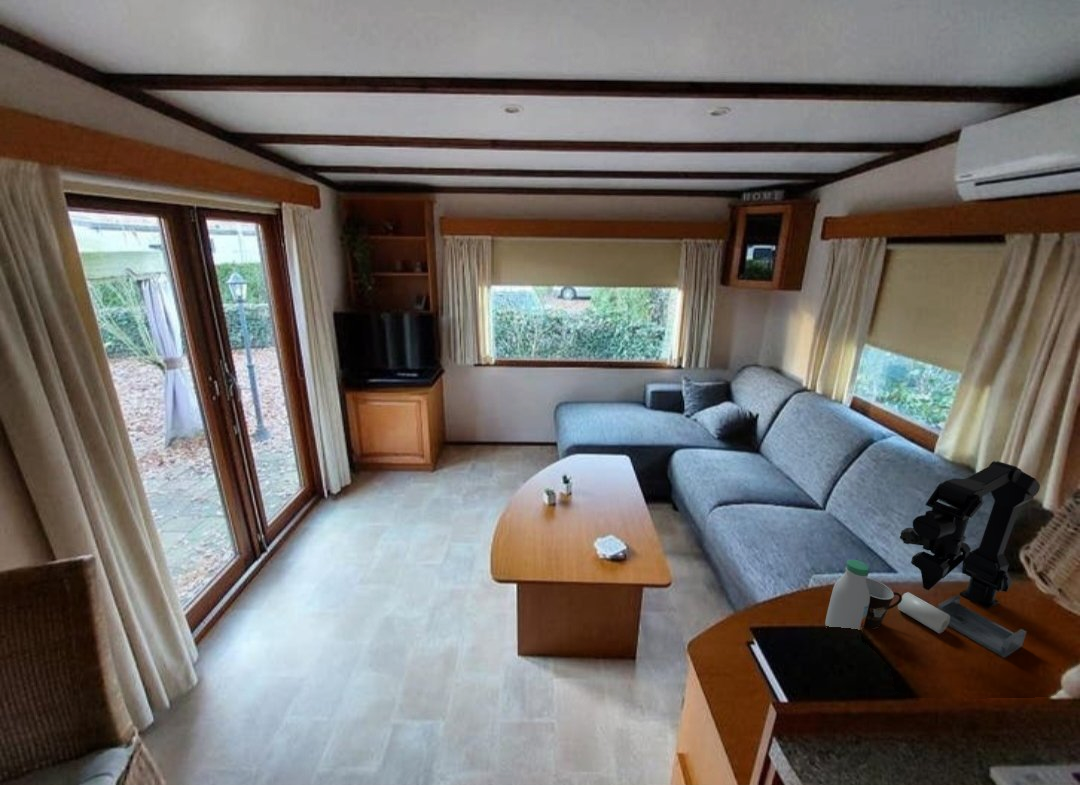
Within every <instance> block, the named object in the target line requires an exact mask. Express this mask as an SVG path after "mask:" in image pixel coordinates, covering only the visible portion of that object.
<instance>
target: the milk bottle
mask: <svg viewBox="0 0 1080 785" xmlns="http://www.w3.org/2000/svg"><path fill="white" fill-rule="evenodd" d="M869 573H870V567H869V566H868V565H867V564H866V563H865V562H863V561H860V560H858V559H848V560H847V561H846V564H845V572H844V573H843V575H842V576H841V577H839V578H838V579H837V581H836V582H835V584H834V585H833V588H832V592H831V596H830V599H829V600H830V601H829V604H828V608H827V613H826V618H825V622H824V623H825V627H826V626H829V627H841V628H851V629H858V630H861V631H862V632H863V631H864V627H865V626H864V623H865V619H866V615H867V611H868V607H869V602H870V594H869V590H868V587H867V583H866V577H867V578H869Z"/></svg>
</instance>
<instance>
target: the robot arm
mask: <svg viewBox="0 0 1080 785" xmlns="http://www.w3.org/2000/svg"><path fill="white" fill-rule="evenodd" d="M1040 488H1041V485H1040V483H1039V482H1038V480H1037V479H1036V478H1035V477H1033V476H1031V475H1029V474H1028V473H1026V472H1024V471H1023V470H1022V469H1021V468H1020V467H1018V466H1016V465H1015V466H1014V465H1012V464H1009V463H1005V462H1002V461H996V460H993V461H991V462H990V463H989V465H988V466H987V467H985V468H982V469H981V470H978V472H975V473H974V474H972V475H970V476H968V477H966V478H952V479H947V480H945V481H943V482H941V483H939V484H938V485H937V487H936V488H935V489H934V491H933V493H932V494H931V496H930V497H929V498H928V500H927V501H926V503H925V506H927V507H929V508H931V510H926V511H925V514H922V515H919V516H916V517H915V518H914V519H913V521H912V527H905V528H904V529H902V530H901V532H900V536H899V539H900V540H901V541H902V542H903V544H905V545H915V546H922V549H923V550H926V551H928V552H929V551H930V553H928V552H926V551H918V552H917V553H915V554H914V555H913V556H912V557H911V561H910V563H911V565H913V567H916V568H917V569H919V571H920V573H921V581H922V582H921V583H922V587H923V589H924V590H926V591H930V590H931V589H932V588H933V587H934V586H935V585H937V584H938V583H939V582H940V581H941V580H942V579H944V578H946V577H947V576H948V575H950V573H951V572H952V571H954V569H956V568H957V567H958V566H959V565H960V564H961V563H962V568H961V569H962V570H961V573H962V574H964V575H966V576H968V577H970V578H969V580H968V584H967V587H966V589H964V590H962V591H960V592H959V595H960V596H962V597H964V598H965V599H968V600H969V601H972V602H974V603H975V604H978V605H979V606H981V607H983V608H985V609H988V610H989V609H991V608H993V607H995V606H996V605H998V604H999V603H1000V601H999V600H998V599H995V598H996V596H997V592H999V593H1000V592H1005V593H1007V592H1008V593H1009V588H1010V587H1011V584H1012V582H1013V581H1012V579H1011V577H1010V574H1009V572H1008V569H1009V566H1010V564H1009V562H1008V560H1007V557H1006V555H1005V550H1006V548H1007V545H1008V542H1009V538H1010V536H1011V533H1012V530H1013V527H1014V524H1015V522H1016V518H1017V517H1018V513H1019V511H1020V507H1021V506H1023V505H1025V504H1027V503H1028V502H1030V501H1032V500H1033V498H1034V497H1035V496H1036V495H1037V494H1038V493H1039V490H1040ZM990 493H991V495H992V498H993V500H994V502H993V505H992V509H991V511H990V515H989V518H988V520H987V523H986V526H985V529H984V531H983V535H982V538H981V541H980V544H979V547H977V548H976V549H974V550H971V547H970V546H969V544H967V543H965V541H966V538H967V537H966V536H965V533H966V530H967V526H968V523H969V520H970V519H972V518H973V517H974V516H975V514H976V513H977V512H978V511H979V509H980V508H981V507H982V506H983V498H984V496H986V495H988V494H990Z"/></svg>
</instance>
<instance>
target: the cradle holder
mask: <svg viewBox="0 0 1080 785" xmlns="http://www.w3.org/2000/svg"><path fill="white" fill-rule="evenodd" d="M960 600H961V596H959V595H956V594H955V595H954V596H951V597H949V598H948V599H946V600H944V601H942V602H940V603H938V605H937V608H938V609H939V610H941V611H943V612H945V613H947V614H949V615H950V621H949V624H948V626H947V627H949V628H951V629H952V630H955V631H956V632H958V633H960V634H961V635H963V636H965V637H966V638H968V639H970V640H972V641H973V642H975V643H977V644H979V645H980V646H982V647H984V648H986V649H987V650H990V651H991V652H993V653H995V654H996V655H998V656H1000V657H1002V658H1004V659H1005V658H1007V657H1008V656H1010V655H1012V654H1013V653H1015V652H1016V651H1018V650H1019V649H1020V648H1022V647H1023V644H1024V641H1025V639H1026V635H1027V632H1028V631H1026V630H1024V629H1022V628H1020V629H1018V631H1015V632H1013V631H1011V630H1010V629H1007V628H1006V627H1004V626H1002V625H1000V624H998V623H996V622H995V621H992V620H990V619H989V618H987V617H985V616H983V615H981V614H979V613H977V612H975V611H974V610H972V609H969V608H968V607H966V606H963V605H962V604H961V603H960Z"/></svg>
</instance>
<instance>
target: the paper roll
mask: <svg viewBox="0 0 1080 785" xmlns="http://www.w3.org/2000/svg"><path fill="white" fill-rule="evenodd" d="M901 596H902V601H901V602H900V603H899V604H898V605H897V609H898V610H899V611H901V612H902V613H904V614H905V615H907V616H909V617H910V618H912V619H914V620H916V621H917V622H919V623H921V624H923V626H926V627H927V628H929V629H930V630H933V631H934V632H936V633H938V634H942V633H943V632H944V631H945V630H946V629H947V627H949V626H948V624H949V621H950V615H949V614H947V613H945V612H943V611H941V610H939V609H938V607H936V606H934V605H932V604H930V603H928V602H926V601H925V600H924V599H921V598H919V597H917V596H916V595H914V594H912V593H911V592H909V591H907V592H905V593H903V594H902V595H901Z"/></svg>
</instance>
